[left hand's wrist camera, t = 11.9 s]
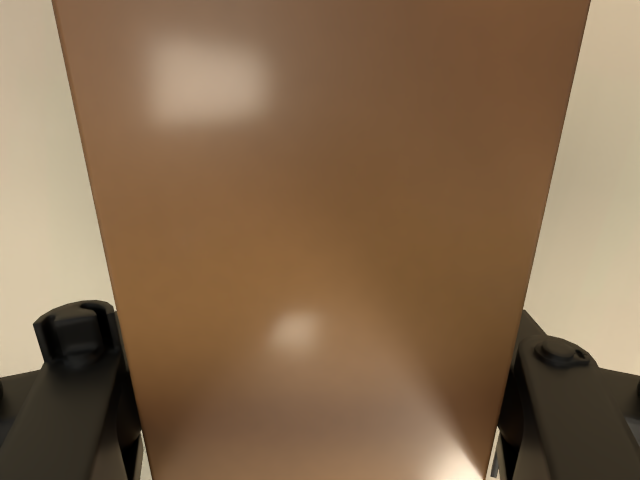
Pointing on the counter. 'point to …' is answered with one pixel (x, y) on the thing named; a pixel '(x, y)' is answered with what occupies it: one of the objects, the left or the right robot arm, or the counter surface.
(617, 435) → the left robot arm
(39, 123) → the counter surface
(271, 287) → the post
